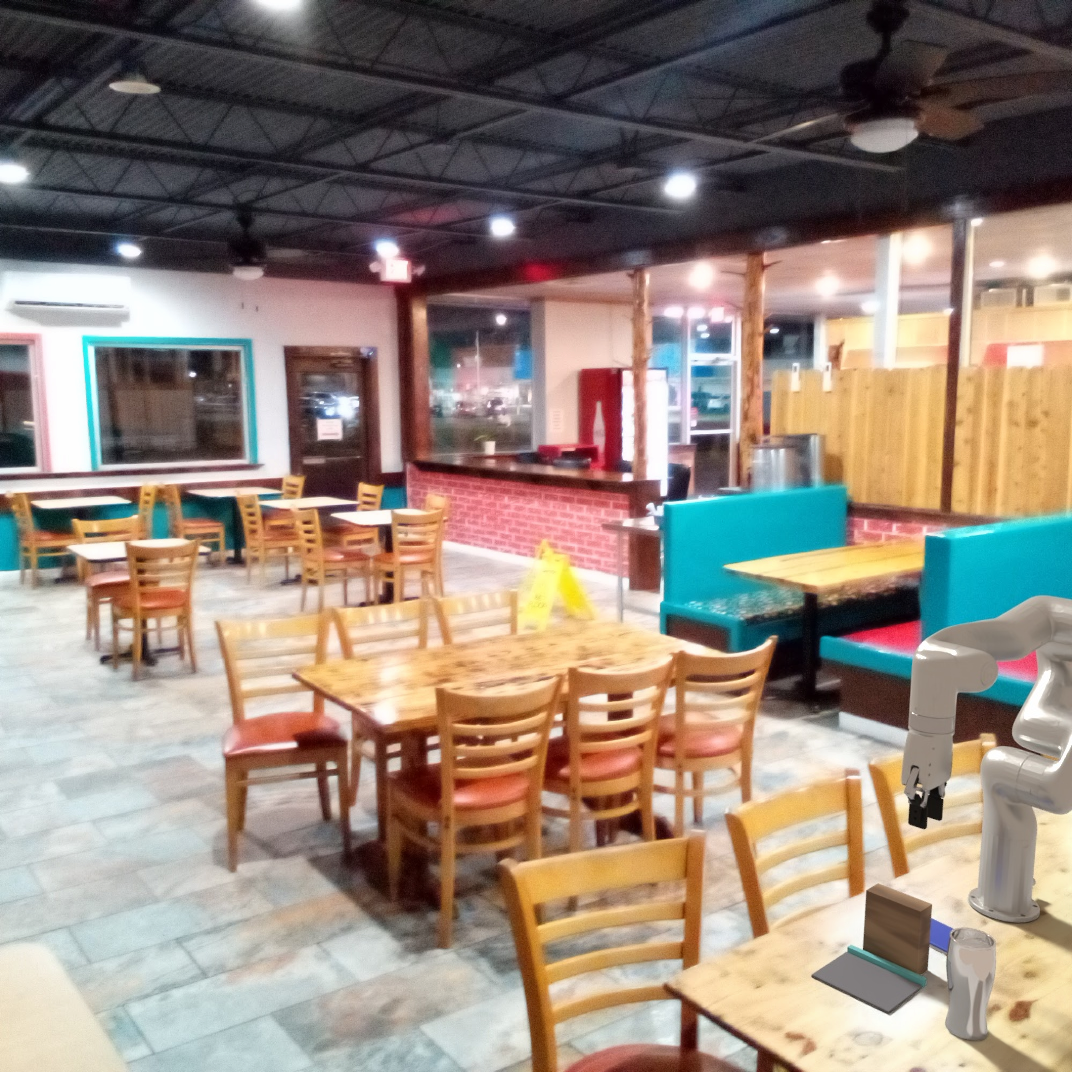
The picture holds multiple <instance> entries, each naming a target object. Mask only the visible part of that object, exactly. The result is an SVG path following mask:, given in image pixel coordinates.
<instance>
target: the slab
mask: <svg viewBox="0 0 1072 1072" xmlns="http://www.w3.org/2000/svg"><path fill="white" fill-rule="evenodd" d="M932 910H933V903H930V902H927V901H925V900H922V899H919V898H917V897H914V896H913V895H909V894H907V893H904V892H902V891H899V890H896V889H894V888H891V887H888V886H885V885H884V884H882V883H876V884H874V885H872V886H870V887H869V888H868V889H866V891H865V904H864V921H863V922H864V923H863V926H864V927H863V940H862V950H865V951H867V952H869V953H871V954H874V955H876V956H878V957H880V958H883V959H885V960H887V961H889V962H892V963H894V964H896V965H898V966H901V967H903V968H905V969H907V970H910V971H912V972H914V973H917V974H919V975H921V976H923V975H924V974H925V973H927V972H928V970H929V958H930V947H929V944H930V929H931V918H932V915H933V914H932Z"/></svg>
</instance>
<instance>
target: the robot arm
mask: <svg viewBox="0 0 1072 1072" xmlns="http://www.w3.org/2000/svg"><path fill="white" fill-rule="evenodd" d="M1033 652H1035V655H1036V663H1037V676H1036V680H1035V683H1034V685H1033V687H1032V689H1031V690H1030V692H1029V694H1028V695H1027V697H1026V699H1025V701H1024V702H1023V705H1022V707H1021V708H1020V711H1019V712H1018V713H1017V715H1016V718H1015V720H1014V722H1013V725H1012V727H1011V728H1012V731H1011V733H1012V738H1013V740H1014V741H1015V742H1016V743H1017V744H1018V745H1019V746H1020V747H1023V748H1024V749H1027V750H1024V749H1021V748H1016V747H1013V746H1005V745H1000V746H995V747H992V748H990V749H989V750H988V751H986V753H985V754H984V755H983V757H982V760H981V762H980V769H979V770H980V780H981V788H982V797H983V798H982V801H983V802H982V803H983V809H982V825H981V836H980V837H981V838H980V851H979V863H978V864H979V865H978V879H977V880H978V881H977V882H978V883H977V887H975V888H973V889H972V890H971V889H970V891H969V893H968V897H967V898H968V899H967V900H968V903H969V905H970V906H971V907H972V908H973V909H974V910H976V911H977V912H979V913H980V914H982V915H984V916H986V917H989V918H992V919H995V920H999V921H1003V922H1009V923H1029V922H1033V921H1035V920H1036V919H1038V918H1039V917H1040V914H1041V912H1040V911H1041V908H1040V906H1039V903H1037V901H1036V900H1035V899H1033V889H1034V888H1033V887H1035V885H1036V884H1037V883H1036V882H1037V881H1036V879H1035V878H1034V875H1035V874H1034V872H1035V863H1036V862H1035V861H1036V848H1037V836H1038V820H1037V816H1036V814H1035V811H1034V808H1036V809H1039V810H1040V811H1044V812H1047V813H1049V814H1054V815H1060V816H1063V815H1067V814H1069V813H1070V812H1072V599H1070V598H1065V597H1059V596H1052V595H1035V596H1031V597H1029V598H1028V599H1026V600H1024V601H1023V602H1021V603H1019V604H1018V605H1016V606H1014V607H1012V608H1011V609H1009V610H1007V611H1006V612H1004V613H1002V614H1001V615H999V616H997V617H995V618H989V619H983V620H976V621H972V622H971V621H970V622H965V623H959V624H955V625H952V626H947V627H944V628H942V629H940V630H938V631H936V632H935V633H933V634H932V635H930V636H928V637H927V638H925V639H924V640H923V641H922V642H920V644H919V645H918V646H917V648H916V649H915V652H914V653H913V657H912V662H911V663H912V665H911V675H910V676H911V679H910V696H909V710H908V727H907V728H908V731H907V736H906V738H905V742H904V743H905V744H904V750H903V757H902V764H901V775H900V781H901V782H900V783H901V784H902V786H905V787H904V790H903V793H904V794H905V796H906V797H907V799H908V800H907V802H908V805H909V806H908V819H907V820H908V821H907V823H908V825H909V826H912V827H915V828H918V829H921V830H926V829H927V828H928V818H929V819H930V820H931V819H933V820H936V821H938V822H940V821H942V820H943V815H944V814H943V813H944V802H945V801H944V798H945V796H946V786H947V784H948V783H947V782H948V781H949V780H950V779H951V777H952V771H953V755H954V754H953V753H954V751H953V750H954V748H953V747H954V746H953V745H954V741H953V740H954V738H953V736H955V730H956V718H957V715H956V712H957V701H958V700H957V697H958V694H959V693H981V692H984V691H986V690H988V689H990V688H991V687H992V686H993V685H994V683H996V681H997V679H998V676H999V665H998V662H999V663H1000V662H1013V661H1014V662H1015V661H1020V660H1023V659H1024V658H1026V657H1027V656H1029V655H1030V654H1032V653H1033ZM1031 751H1033V752H1034V753H1033V752H1031ZM1037 753H1038V754H1037ZM1039 754H1041V755H1039ZM1043 755H1045V756H1048V757H1045V756H1043ZM1049 757H1052V758H1049ZM1055 759H1057V760H1055ZM918 785H921V787H920V786H918ZM917 791H918V792H921V795H920V794H919V793H917Z"/></svg>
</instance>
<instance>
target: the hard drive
mask: <svg viewBox="0 0 1072 1072" xmlns="http://www.w3.org/2000/svg"><path fill="white" fill-rule="evenodd" d="M953 929H954V928H953V927H951V926H949V925H947V924H945V923H943V922H941V921H939V920H937V919H935V918H932V917H931V929H930V944H929V948H931V949H933V950H935V951H937V952H938V953H941V954H943V955H945V956H947V949H948V943H949V937H950V932H951V930H953Z"/></svg>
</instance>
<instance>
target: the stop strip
mask: <svg viewBox="0 0 1072 1072" xmlns="http://www.w3.org/2000/svg"><path fill="white" fill-rule="evenodd" d="M846 952H848V953H850V954H852V955H855V956H857V957H859V958H861V959H864V960H866V961H868V962H870V963H872V964H875V965H877V966H879V967H881V968H884V969H886V970H888V971H890V972H892V973H895V974H897V975H899V976H901V977H904V978H906V979H908V980H910V981H912V982H915V983H917V984H919V985H921V986H922V988H924V987H925V986H927V979H928V978H927V977H925V976H923V975H919V974H917V973H914V972H912V971H910V970H907V969H905V968H903V967H901V966H898V965H896V964H894V963H892V962H889V961H887V960H885V959H883V958H880V957H878V956H876V955H874V954H871V953H869V952H867V951H865V950H863V948H860V947H858V946H855V945H853V944H850V945H848V946H847V951H846Z"/></svg>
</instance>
